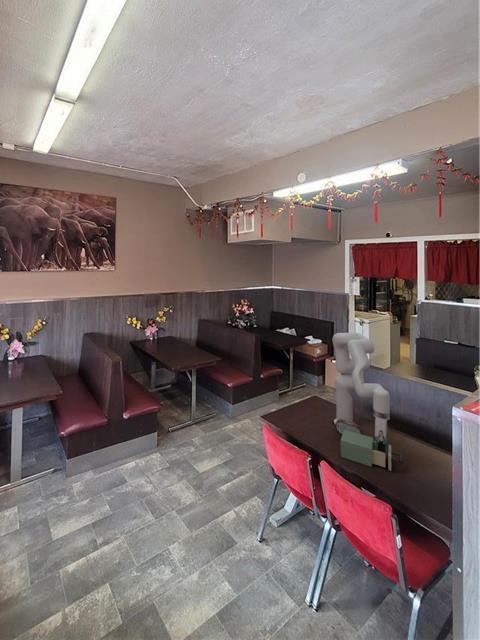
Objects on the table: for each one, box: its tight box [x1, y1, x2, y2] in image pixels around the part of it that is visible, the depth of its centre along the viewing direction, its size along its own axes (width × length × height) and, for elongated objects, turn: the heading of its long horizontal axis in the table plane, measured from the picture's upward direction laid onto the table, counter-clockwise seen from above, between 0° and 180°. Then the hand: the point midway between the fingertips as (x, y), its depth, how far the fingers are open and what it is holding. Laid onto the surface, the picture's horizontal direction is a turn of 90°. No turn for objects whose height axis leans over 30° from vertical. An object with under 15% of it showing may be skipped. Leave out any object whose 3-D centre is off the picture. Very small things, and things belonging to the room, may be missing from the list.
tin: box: [335, 419, 364, 435], centre depth 184 cm, size 15×3×8 cm, turn 47°
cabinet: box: [340, 430, 374, 468], centre depth 166 cm, size 15×13×9 cm
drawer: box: [372, 440, 404, 472], centre depth 159 cm, size 18×11×7 cm, turn 56°
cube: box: [375, 436, 388, 454], centre depth 160 cm, size 5×5×5 cm
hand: (381, 447), depth 160 cm, fingers closed on cube, 5 cm apart
